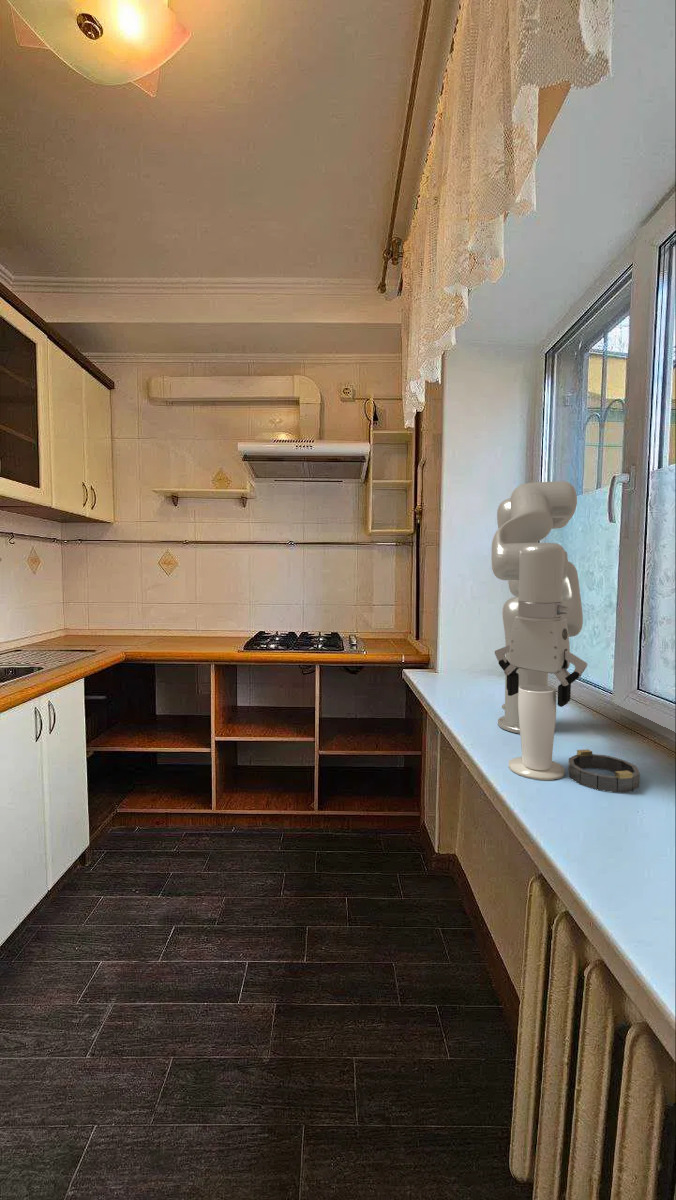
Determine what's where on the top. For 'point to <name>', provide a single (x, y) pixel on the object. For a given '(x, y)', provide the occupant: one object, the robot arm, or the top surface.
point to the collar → (622, 782)
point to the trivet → (550, 774)
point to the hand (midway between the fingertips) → (537, 699)
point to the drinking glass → (537, 725)
